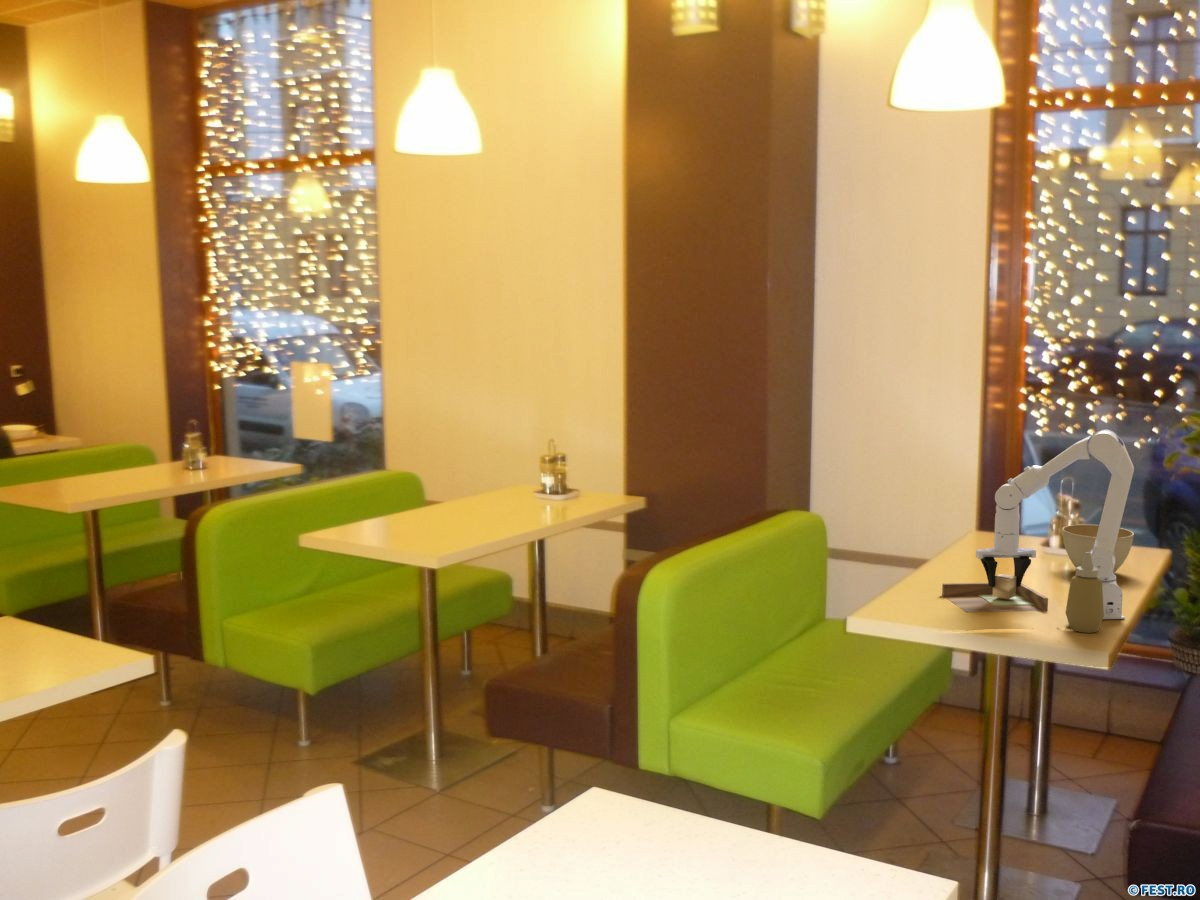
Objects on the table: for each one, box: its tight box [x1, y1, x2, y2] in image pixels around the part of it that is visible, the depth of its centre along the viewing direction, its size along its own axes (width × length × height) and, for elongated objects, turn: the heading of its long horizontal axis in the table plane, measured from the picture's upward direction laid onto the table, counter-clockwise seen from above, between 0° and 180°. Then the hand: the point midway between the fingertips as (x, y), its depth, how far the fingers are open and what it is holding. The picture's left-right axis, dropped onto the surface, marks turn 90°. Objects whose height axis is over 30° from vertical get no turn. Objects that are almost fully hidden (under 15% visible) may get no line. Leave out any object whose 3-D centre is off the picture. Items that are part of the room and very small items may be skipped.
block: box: [992, 573, 1017, 599], centre depth 281 cm, size 4×4×5 cm
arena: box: [941, 582, 1049, 613], centre depth 279 cm, size 16×20×4 cm
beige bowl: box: [1062, 524, 1135, 574], centre depth 312 cm, size 18×18×12 cm
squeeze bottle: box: [1065, 552, 1104, 633], centre depth 257 cm, size 8×8×18 cm
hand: (1004, 586), depth 281 cm, fingers closed on block, 6 cm apart
